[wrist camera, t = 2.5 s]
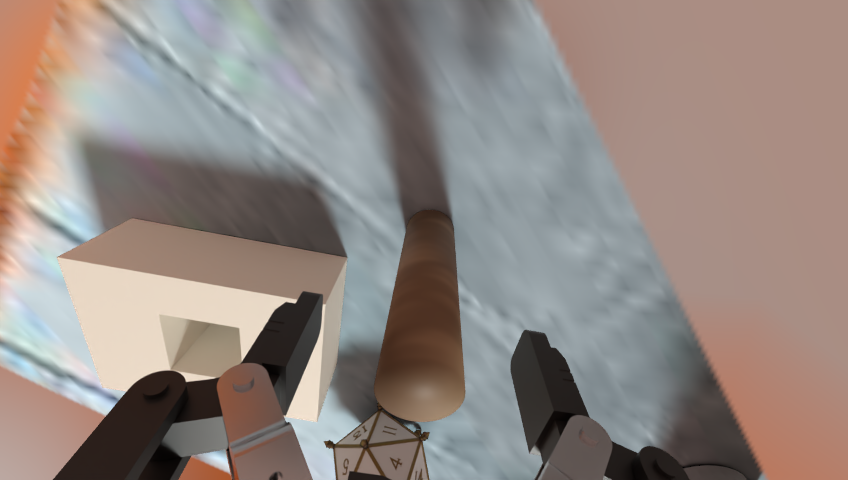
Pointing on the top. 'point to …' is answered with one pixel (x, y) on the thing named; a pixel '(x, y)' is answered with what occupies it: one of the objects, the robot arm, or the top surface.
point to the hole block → (196, 303)
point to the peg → (423, 327)
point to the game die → (381, 450)
